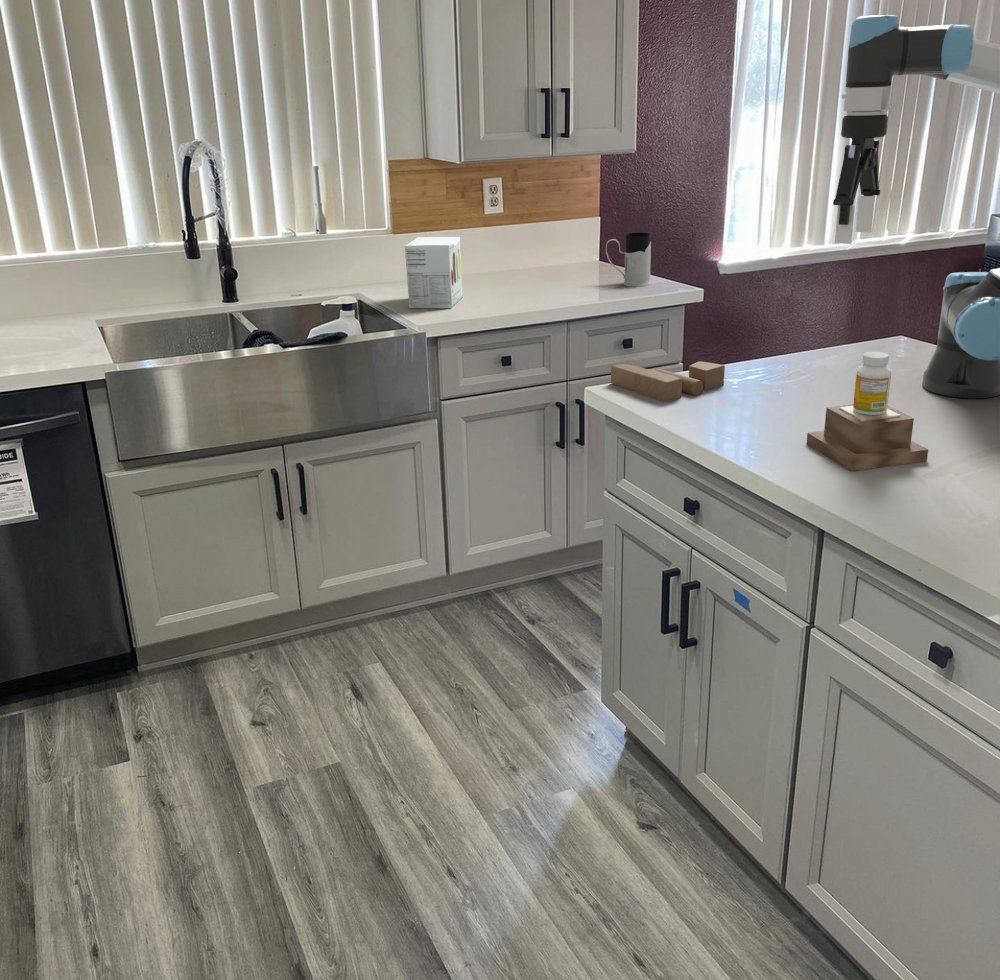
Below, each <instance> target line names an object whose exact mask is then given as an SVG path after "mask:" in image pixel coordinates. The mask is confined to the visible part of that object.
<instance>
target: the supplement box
mask: <svg viewBox="0 0 1000 980" xmlns="http://www.w3.org/2000/svg"><path fill="white" fill-rule="evenodd" d="M461 251H462V250H461V237H460V236H418V237H416V238H414V239H413V240H412V241H410V242H409V243H407V244H405V245H404V253H405V269H406V280H407V293H408V294H407V295H408V307H409V309H452V308H454V306H455V305H457V303H458V302H459V301H460V300H462V298H463V297H464V295H463V294H464V293H463V276H462V275H463V274H462V258H461V257H462V254H461Z"/></svg>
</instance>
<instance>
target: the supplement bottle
mask: <svg viewBox="0 0 1000 980" xmlns="http://www.w3.org/2000/svg"><path fill="white" fill-rule="evenodd" d="M889 358H890V356H889V354H888V353H887V352H884V351H883V352H882V351H867V352H864V353H863V354H862V363H863V364H861V365H859V366H858V367H857V370H856V375H855V386H854V394H853V403H852V404H853V409H854V411H855V412H857V413H859V414H863V415H881V414H884V413H886V411H887V407H888V406H889V396H890V389H891V388H890V387H891V379H892V369H891V368H890V367H889V366H887V365H888V364H889V360H890V359H889Z"/></svg>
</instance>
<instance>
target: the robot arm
mask: <svg viewBox="0 0 1000 980" xmlns="http://www.w3.org/2000/svg"><path fill="white" fill-rule="evenodd" d="M849 36H850V37H849V43H848V49H847V61H846V63H847V64H846V78H845V91H844V92H845V93H842V94H841V99H843V100H844V102H843V111H844V112H845V113H846V114H844V115H843V117H842V122H841V132H840V135H841V138H843V139H851V142H850V143H851V144H847V145H845V147H844V154H843V160H842V165H841V170H840V173H839V179H838V183H837V184H838V185H837V189H836V192H835V197H834V199H833V204H832V205H833V206H837V213H836V214H837V215H836V216H837V217H836V224H835V225H836V227H835V238H834V243H835V244H846V245H847V244H848V245H849V244H850V245H851V244H852V240H853V231H854V222H855V221H854V219H855V211H856V210H855V209H856V205H855V204H854V203H855V200H856V199H855V198H856V195H857V192H858V188H860V195H859V196H858V201H857V212H856V224H855V232H856V233H872V228H873V219H874V218H873V217H874V209H875V198H876V196H880V195H881V189H880V181H879V180H880V179H879V177H880V174H879V173H880V171H879V167H880V166H879V149H880V140H879V139H878V138H884V137H885V136H886V135H887V130H888V121H889V116H888V114H886V112H887V111H889V110H890V105H891V93H892V82H893V81H892V79H893V76H906V75H907V76H909V75H910V76H912V75H917V76H918V75H922V76H927V77H930V78H935V79H938V80H944V81H947V82H951V83H955V84H959V85H963V86H968V87H970V88H975V89H978V90H982V91H987V92H991V93H994V94H998V95H1000V44H997V43H994V42H989V41H985V40H981V39H977V38H974V37H975V35H974V29H973V27H972V26H971V25H969V24H955V23H953V24H941V25H926V26H925V25H924V26H912V27H907V26H900V24H899V17H898V15H895V14H887V15H883V14H882V15H881V14H880V15H865V16H858V17H857V18H856V19H854V20H853V22H852V24H851V29H850V35H849ZM942 291H943V296H942V303H941V311H940V319H939V325H938V326H939V327H938V333H937V341H936V347H935V350H934V352H933V355H932V356H931V358H930V361H929V363H928V365H927V368H926V369H925V371H924V372H923V375H922V381H921V385H922V387H923V388H924V389H925V390H927V391H928V392H931V393H934V394H937V395H942V396H946V397H952V398H958V399H959V398H960V399H987V398H994V397H997V396H1000V267H999V268H998V267H997V268H993V269H990V270H989V271H988V272H987V271H981V272H980V271H967V272H965V271H959V272H951V273H950V274H948V275H947V276H946V279H945V282H944V286H943V288H942Z"/></svg>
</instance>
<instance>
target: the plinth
mask: <svg viewBox="0 0 1000 980" xmlns="http://www.w3.org/2000/svg"><path fill="white" fill-rule="evenodd" d="M825 409H826V410H825V418H824V429H823V430H818V431H809V432H806V434H807V435H806V444H807V445H808V446H810V447H812V448H813V449H814V450H816V451H817V452H820V453H822V454H823V455H824V456H826V457H827V458H829V459H831V460H833V461H834V462H835V463H837V464H838V465H840V466H842V467H844V468H845V469H847V470H848V471H850V472H856V471H857V472H858V471H862V470H863V471H864V470H871V468H872V469H876V468H877V467H879V468H884V467H883V466H886V467H891V465H893V466H900V465H906V464H914V463H921V462H927V461H928V456H929V448H926V447H925V446H922V445H920V444H919V443H917V442H915V441H913V440H912V436H913V429H914V420H915V418H914V417H912V416H910V415H907V414H906V413H904V412H902V411H900V410H898V409H895V408H893V407H891V406H889V405H888V407H887V411H886V413H884V414H881V415H863V414H859V413H857V412H855V411H854V409H853V403H852V404H851V403H850V404H844V405H835V406H828V407H827V406H826V408H825ZM899 464H900V465H899Z"/></svg>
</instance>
